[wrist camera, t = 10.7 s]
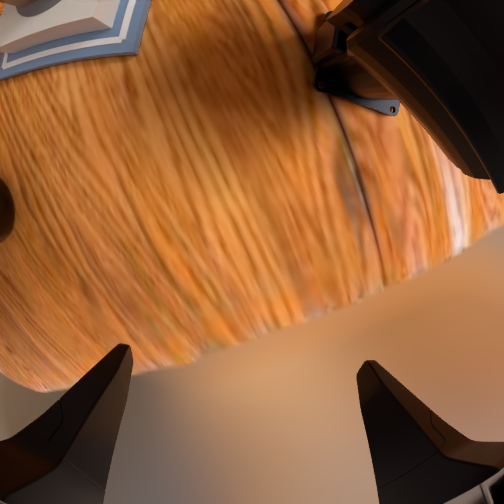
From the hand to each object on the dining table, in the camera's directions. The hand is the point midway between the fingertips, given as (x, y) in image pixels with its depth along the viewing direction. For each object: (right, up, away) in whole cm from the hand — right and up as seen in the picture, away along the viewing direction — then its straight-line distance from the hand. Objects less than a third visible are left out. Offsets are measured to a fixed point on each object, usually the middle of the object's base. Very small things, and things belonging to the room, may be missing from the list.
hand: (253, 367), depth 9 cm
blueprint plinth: (-13, +24, 0) cm, 28 cm away
